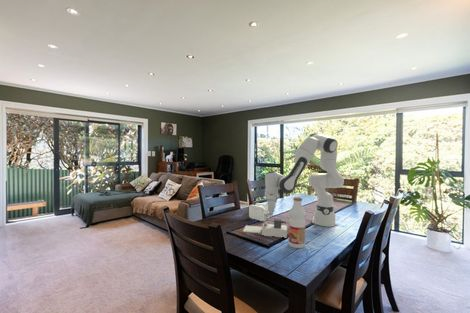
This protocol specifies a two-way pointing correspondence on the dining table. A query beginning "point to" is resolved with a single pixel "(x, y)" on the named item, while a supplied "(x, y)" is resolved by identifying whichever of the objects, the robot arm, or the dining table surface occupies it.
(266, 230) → the power strip
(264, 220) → the clip
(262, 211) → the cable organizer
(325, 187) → the robot arm
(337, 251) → the dining table surface
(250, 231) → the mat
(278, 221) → the plug
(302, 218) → the fruit juice
